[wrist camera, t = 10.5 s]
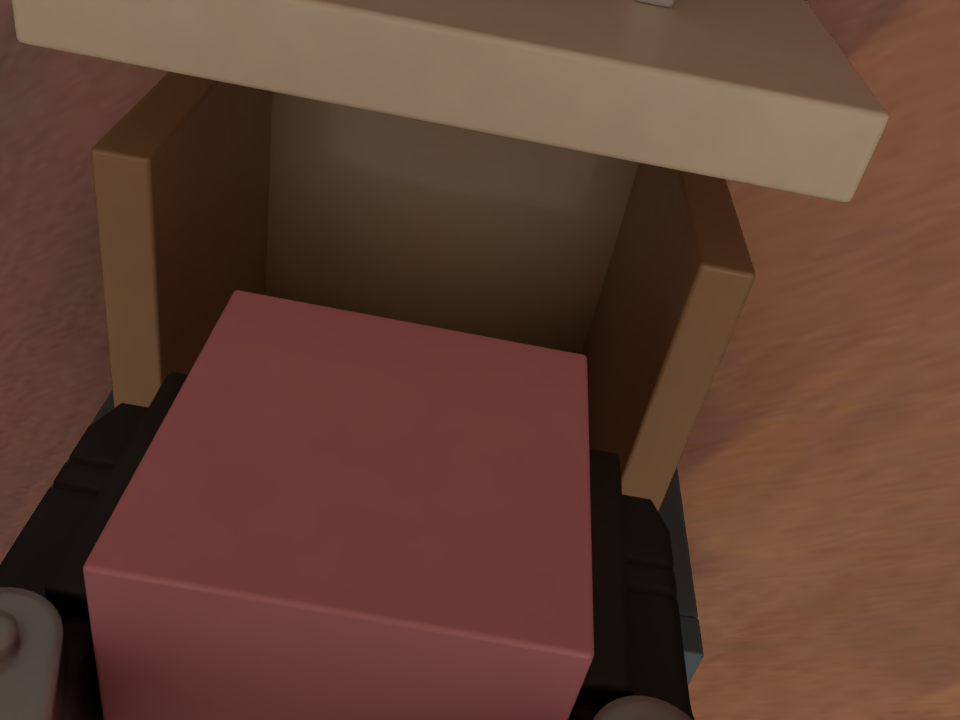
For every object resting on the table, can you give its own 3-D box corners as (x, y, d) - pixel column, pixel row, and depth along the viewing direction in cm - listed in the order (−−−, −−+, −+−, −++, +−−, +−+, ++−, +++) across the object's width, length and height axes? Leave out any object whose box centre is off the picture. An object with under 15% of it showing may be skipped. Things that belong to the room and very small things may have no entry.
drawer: (212, -469, 14) (-70, -583, 8) (869, -325, 15) (1097, -326, 8) (215, 405, 25) (96, 652, 18) (595, 473, 25) (605, 738, 19)
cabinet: (202, 247, 23) (16, 537, 15) (659, 332, 23) (704, 655, 16) (207, 613, 32) (90, 915, 24) (539, 669, 32) (531, 983, 24)
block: (231, 531, 14) (115, 823, 10) (234, 287, 11) (80, 567, 8) (518, 582, 14) (501, 886, 10) (588, 353, 11) (596, 657, 8)
